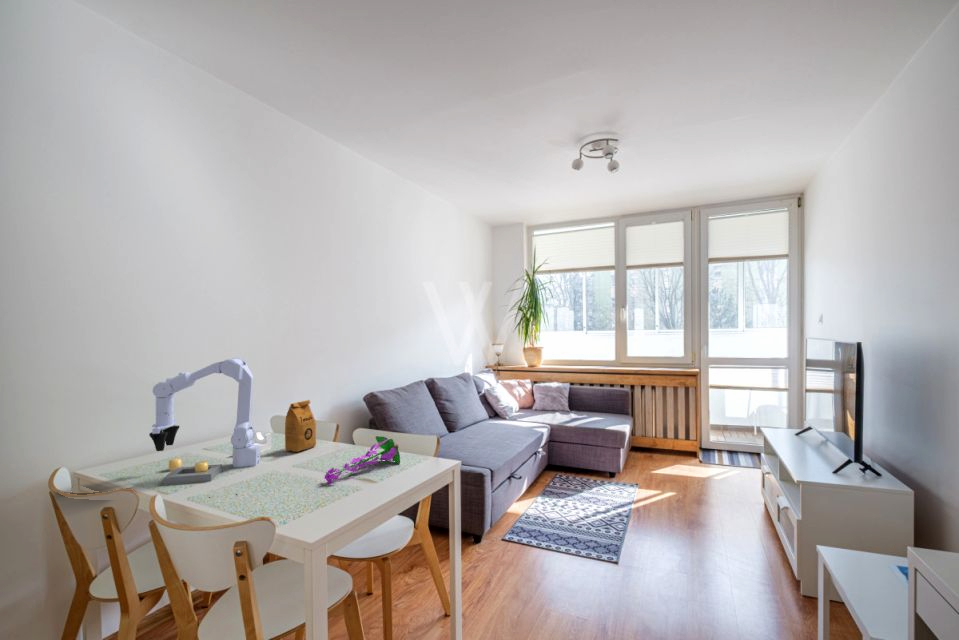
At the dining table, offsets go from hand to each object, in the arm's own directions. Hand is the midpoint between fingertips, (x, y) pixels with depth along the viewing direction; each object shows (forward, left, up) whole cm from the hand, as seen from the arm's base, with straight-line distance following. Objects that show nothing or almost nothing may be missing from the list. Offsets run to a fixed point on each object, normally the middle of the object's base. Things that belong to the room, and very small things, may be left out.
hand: (165, 447), depth 167 cm
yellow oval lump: (-3, 0, -10) cm, 11 cm away
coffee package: (-45, -22, -10) cm, 52 cm away
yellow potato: (-17, +12, -8) cm, 22 cm away
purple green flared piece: (-76, +15, -10) cm, 78 cm away
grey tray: (-14, +12, -10) cm, 21 cm away
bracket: (-26, -22, -10) cm, 35 cm away
